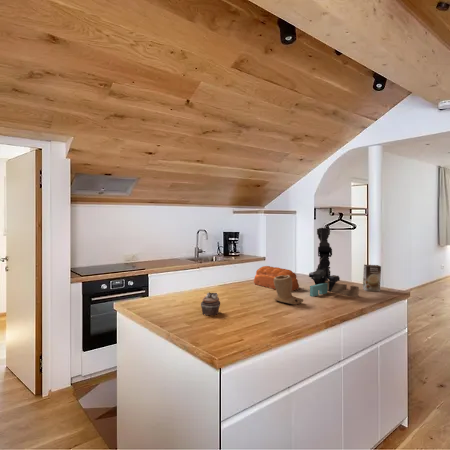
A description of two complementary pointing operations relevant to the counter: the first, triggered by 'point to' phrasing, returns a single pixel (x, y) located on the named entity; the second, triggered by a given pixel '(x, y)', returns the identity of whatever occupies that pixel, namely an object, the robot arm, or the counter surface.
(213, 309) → the cupcake
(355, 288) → the rail
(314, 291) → the crossbar
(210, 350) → the counter surface
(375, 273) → the coffee box
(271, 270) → the bread
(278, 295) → the brown hollow boot-shaped piece
